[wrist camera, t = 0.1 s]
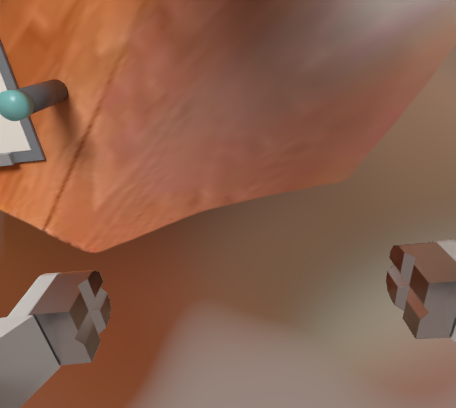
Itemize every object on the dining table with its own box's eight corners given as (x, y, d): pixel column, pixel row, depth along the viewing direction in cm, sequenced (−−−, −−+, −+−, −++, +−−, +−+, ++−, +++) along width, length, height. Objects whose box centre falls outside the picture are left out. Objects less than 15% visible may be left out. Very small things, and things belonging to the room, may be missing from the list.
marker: (41, 79, 52) (-11, 92, 40) (64, 77, 52) (18, 89, 40) (50, 103, 53) (2, 122, 42) (72, 101, 53) (30, 119, 42)
